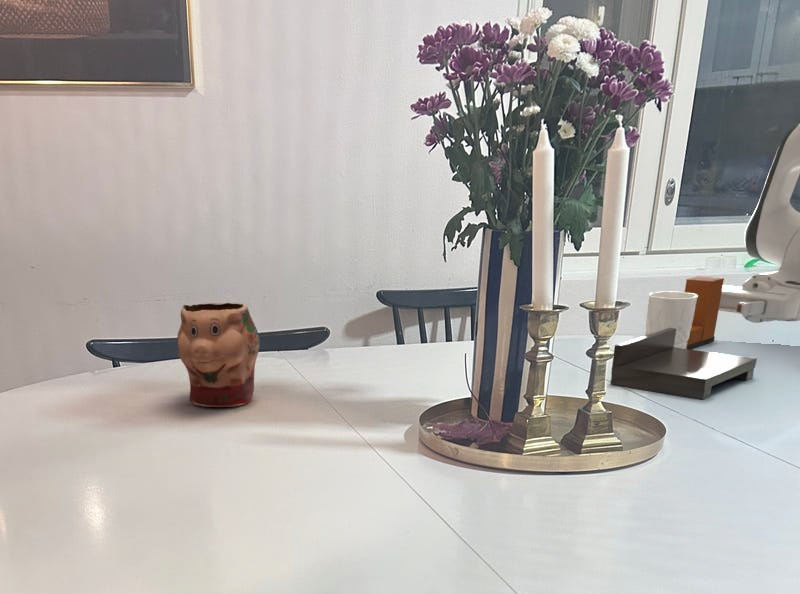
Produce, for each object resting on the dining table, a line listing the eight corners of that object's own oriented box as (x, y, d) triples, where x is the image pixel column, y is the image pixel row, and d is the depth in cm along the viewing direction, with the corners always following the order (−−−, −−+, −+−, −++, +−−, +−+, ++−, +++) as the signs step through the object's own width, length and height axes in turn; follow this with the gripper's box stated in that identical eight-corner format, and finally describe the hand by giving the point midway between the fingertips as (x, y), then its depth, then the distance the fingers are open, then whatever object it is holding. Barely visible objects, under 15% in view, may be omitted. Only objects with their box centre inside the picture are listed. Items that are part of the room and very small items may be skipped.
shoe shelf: (753, 377, 148) (760, 338, 145) (702, 399, 137) (709, 358, 134) (664, 364, 158) (669, 327, 155) (609, 384, 146) (614, 345, 144)
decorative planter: (192, 384, 153) (184, 294, 146) (266, 382, 152) (262, 292, 146) (172, 416, 135) (162, 316, 129) (256, 415, 135) (251, 314, 128)
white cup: (697, 357, 162) (708, 296, 157) (660, 361, 160) (669, 299, 155) (668, 348, 168) (677, 290, 164) (631, 352, 166) (639, 293, 161)
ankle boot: (714, 341, 173) (725, 278, 168) (689, 349, 167) (700, 284, 162) (688, 337, 176) (698, 275, 171) (663, 346, 170) (672, 282, 165)
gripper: (719, 275, 185) (673, 281, 179) (816, 285, 170) (770, 293, 164) (713, 308, 188) (668, 316, 182) (808, 321, 173) (763, 331, 167)
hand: (717, 305), depth 173 cm, fingers open, 8 cm apart
